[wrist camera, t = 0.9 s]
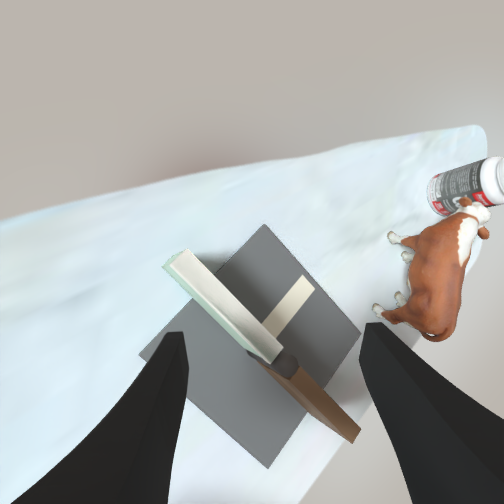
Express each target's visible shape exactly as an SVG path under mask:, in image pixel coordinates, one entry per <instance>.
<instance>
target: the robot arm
mask: <svg viewBox="0 0 504 504" xmlns="http://www.w3.org/2000/svg"><path fill="white" fill-rule="evenodd" d="M359 362H360V366H361V369H362V373H363V376H364V379H365V382H366V385H367V388H368V390H369V392H370V395H371V397H372V399H373V401H374V404H375V406H376V408H377V410H378V413H379V415H380V417H381V419H382V422H383V424H384V426H385V429H386V431H387V433H388V435H389V437H390V440H391V442H392V445H393V447H394V450H395V452H396V455H397V458H398V461H399V463H400V467H401V469H402V472H403V475H404V478H405V481H406V484H407V488H408V491H409V494H410V497H411V500H412V503H413V504H504V419H502V418H500V417H499V416H497V415H496V414H494V413H493V412H491V411H490V410H488V409H486V408H485V407H484V406H482V405H480V404H479V403H478V402H477V401H475V400H474V399H472V398H471V397H469V396H468V395H467V394H465V393H464V392H462V391H461V390H460V389H458V388H456V386H454V385H453V384H452V383H451V382H449V381H448V380H447V379H445V378H444V377H443V376H442V375H440V374H439V373H438V372H437V371H436V370H434V369H433V368H432V367H431V366H430V365H428V364H427V363H426V362H425V361H424V360H423V359H421V358H420V357H419V356H418V355H417V354H416V353H415V352H413V351H412V350H411V349H410V348H409V347H408V346H407V345H406V344H405V343H404V342H402V341H401V340H400V339H399V338H398V337H397V336H396V335H395V334H394V333H393V332H392V331H391V330H390V329H388V328H387V327H386V326H385V325H384V324H383V323H382V322H378V323H366V327H365V332H364V336H363V341H362V346H361V351H360V356H359ZM188 377H189V363H188V357H187V351H186V345H185V339H184V333H183V331H178V332H167V333H166V334H165V335H164V337H163V338H162V340H161V342H160V343H159V345H158V347H157V348H156V350H155V351H154V353H153V354H152V356H151V358H150V359H149V361H148V362H147V363H146V365H145V366H144V368H143V369H142V371H141V372H140V373H139V375H138V376H137V378H136V379H135V380H134V382H133V383H132V384H131V386H130V387H129V388H128V389H127V391H126V392H125V393H124V395H123V396H122V397H121V398H120V400H119V401H118V402H117V403H116V404H115V406H114V407H113V408H112V409H111V410H110V411H109V413H108V414H107V415H106V416H105V417H104V418H103V419H102V420H101V422H100V423H99V424H98V425H97V426H96V427H95V428H94V429H93V430H92V431H91V432H90V433H89V434H88V435H87V436H86V437H85V438H84V439H83V440H82V441H81V442H80V443H79V444H78V445H77V446H76V447H75V448H74V449H73V450H72V451H71V452H70V453H69V454H68V455H67V456H66V457H65V458H63V459H62V460H61V461H60V462H59V463H58V464H57V465H56V466H55V467H54V468H52V469H51V470H50V471H49V472H48V473H47V474H46V475H45V476H44V477H42V478H41V479H40V480H39V481H38V482H37V483H35V484H34V485H33V486H32V487H31V488H29V489H28V490H27V491H26V492H24V493H23V494H22V495H21V496H19V497H18V498H17V499H16V500H14V501H13V502H12V503H11V504H168V495H169V487H170V479H171V470H172V464H173V458H174V452H175V448H176V443H177V438H178V433H179V429H180V424H181V419H182V415H183V410H184V405H185V400H186V395H187V387H188Z"/></svg>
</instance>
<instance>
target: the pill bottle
mask: <svg viewBox="0 0 504 504" xmlns="http://www.w3.org/2000/svg"><path fill="white" fill-rule="evenodd" d="M461 197H468V198H470V199H471V200H472V203H473V202H480V203H481V204H482V205H483V206H484V207H491V206H496V205H501V204H504V157H503V158H502V157H497V156H495V157H490V158H486V159H483V160H480V161H477V162H474V163H471V164H468V165H465V166H462V167H459V168H456V169H453V170H450V171H447V172H444V173H440V174H438V175H435V176H434V177H432V178H431V180H430V182H429V184H428V187H427V198H428V201H429V204H430V206H431V207H432V209H433V210H434V211H435V212H437V213H438V214H440V215H451V214H453V213H455V212H456V211H457V210H458V209H459V208H460V204H459V199H460V198H461Z"/></svg>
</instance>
